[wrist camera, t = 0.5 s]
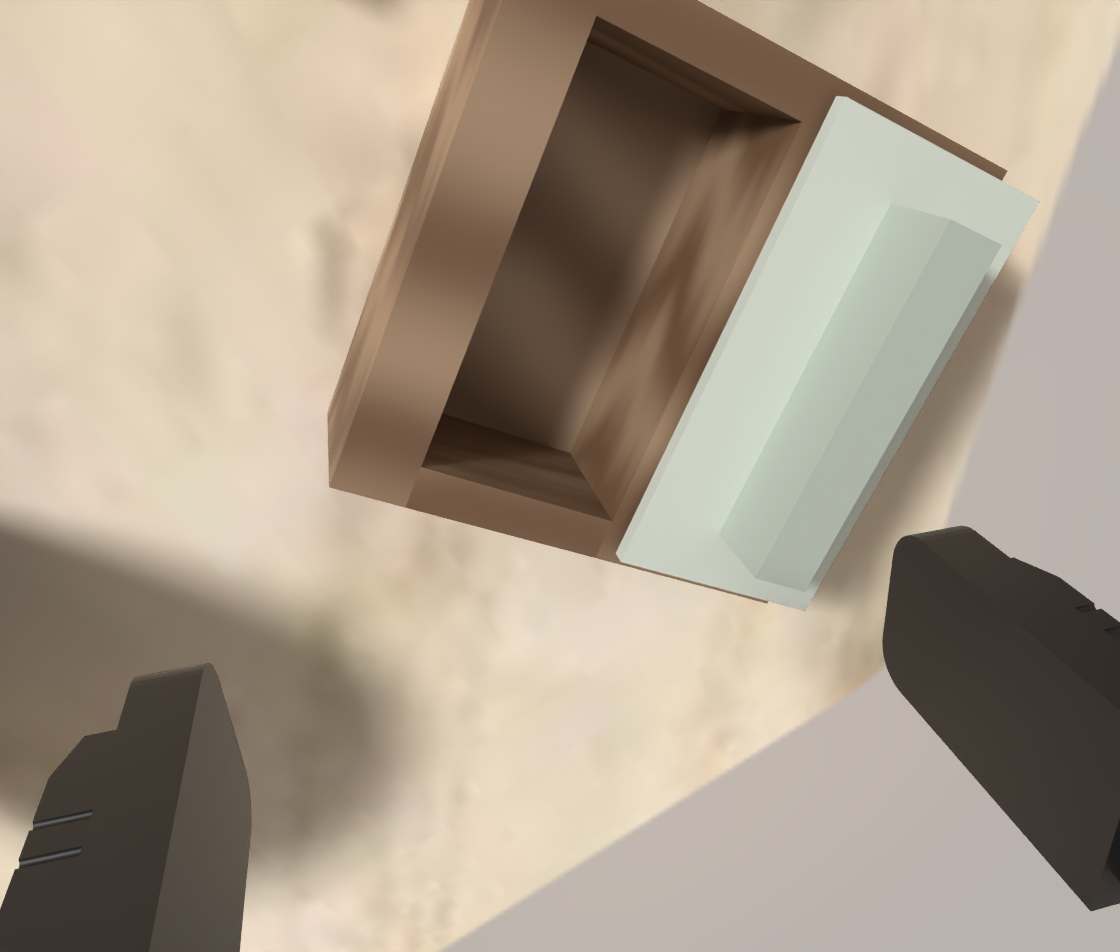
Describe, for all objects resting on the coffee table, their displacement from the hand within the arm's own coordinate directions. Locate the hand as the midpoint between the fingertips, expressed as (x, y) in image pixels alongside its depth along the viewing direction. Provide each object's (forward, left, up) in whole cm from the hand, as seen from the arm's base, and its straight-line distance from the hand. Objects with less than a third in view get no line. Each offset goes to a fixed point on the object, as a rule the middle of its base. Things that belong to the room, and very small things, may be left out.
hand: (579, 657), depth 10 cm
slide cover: (-2, +13, -18) cm, 22 cm away
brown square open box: (-2, +8, -25) cm, 26 cm away
